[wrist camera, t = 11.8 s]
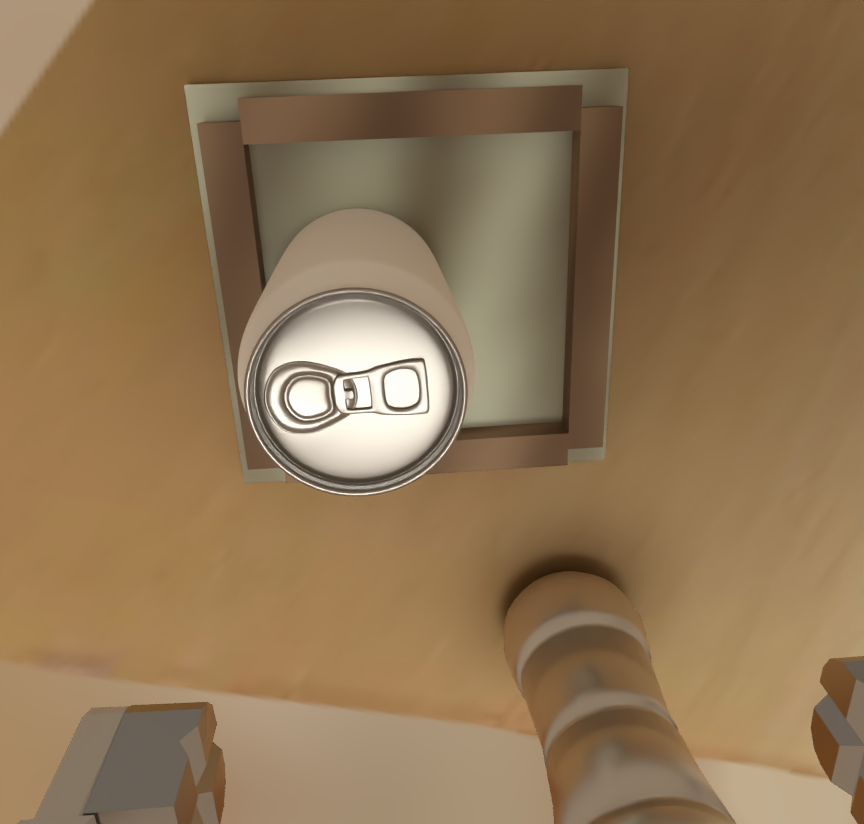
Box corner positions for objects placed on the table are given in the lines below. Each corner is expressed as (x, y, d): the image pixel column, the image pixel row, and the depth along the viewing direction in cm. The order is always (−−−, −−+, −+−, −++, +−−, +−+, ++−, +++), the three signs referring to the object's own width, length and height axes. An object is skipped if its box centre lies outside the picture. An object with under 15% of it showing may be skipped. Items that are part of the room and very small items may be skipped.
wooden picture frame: (622, 68, 28) (639, 67, 27) (600, 452, 35) (612, 472, 33) (189, 84, 28) (176, 84, 26) (247, 474, 34) (239, 496, 32)
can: (264, 214, 29) (202, 284, 18) (434, 198, 29) (477, 257, 18) (290, 375, 31) (249, 524, 20) (446, 358, 32) (491, 497, 20)
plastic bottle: (597, 669, 40) (787, 1166, 22) (476, 642, 39) (570, 1146, 20) (648, 570, 38) (910, 1031, 19) (522, 538, 36) (673, 998, 18)
